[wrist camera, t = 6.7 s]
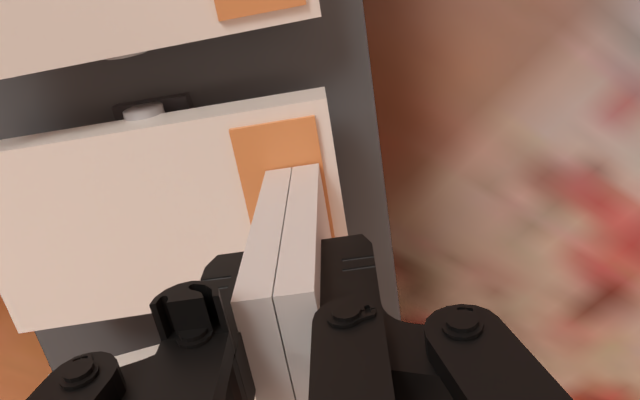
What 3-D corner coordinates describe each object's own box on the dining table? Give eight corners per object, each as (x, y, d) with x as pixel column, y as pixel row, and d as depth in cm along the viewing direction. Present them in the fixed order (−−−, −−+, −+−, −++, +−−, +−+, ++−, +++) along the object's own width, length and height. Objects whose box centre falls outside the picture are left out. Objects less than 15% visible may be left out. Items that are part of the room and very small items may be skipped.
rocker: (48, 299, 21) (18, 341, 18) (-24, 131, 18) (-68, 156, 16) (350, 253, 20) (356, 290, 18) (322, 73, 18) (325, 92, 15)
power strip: (137, 409, 30) (103, 502, 25) (-154, -347, 18) (-340, -459, 13) (401, 375, 30) (419, 464, 25) (298, -442, 17) (291, -603, 12)
